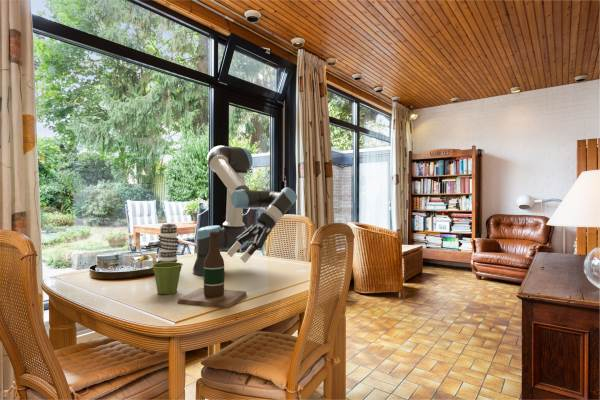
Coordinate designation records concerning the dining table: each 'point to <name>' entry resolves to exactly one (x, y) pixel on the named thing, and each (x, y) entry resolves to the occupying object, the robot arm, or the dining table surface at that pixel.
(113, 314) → the dining table surface
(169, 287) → the plant pot
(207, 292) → the beer bottle
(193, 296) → the walnut board
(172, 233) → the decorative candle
